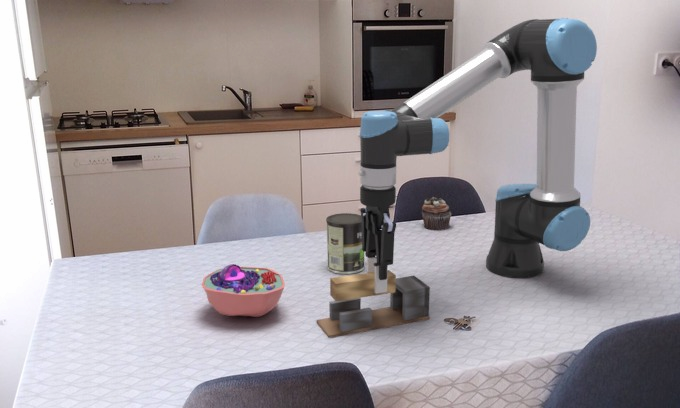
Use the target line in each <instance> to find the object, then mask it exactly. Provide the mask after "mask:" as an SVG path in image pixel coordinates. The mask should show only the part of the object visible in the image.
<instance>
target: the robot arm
mask: <svg viewBox="0 0 680 408" xmlns="http://www.w3.org/2000/svg"><path fill="white" fill-rule="evenodd" d="M597 47H598V46H597V40H596V35H595V34H594V31H593V30H592V29H591V28H590V27H589V25H588V24H587V23H586V22H585V21H582V20H580V19H575V18H568V17H567V18H566V17H565V18H564V17H561V18H547V19H546V18H545V19H543V18H542V19H538V18H537V19H534V18H533V19H527V20H525V21H522V22H519V23H517V24H516V25H514V26H511V27H510V28H508V29H506V30H505V31H503V32H502V33H500V34H498V35H497V36H495V37H494V38H492V39H490V40H489V41H488V42H486V43H484V44H483V46H482V48H481V51H480V52H478V53H476V54H475V55H474V56H472V57H471V58H469V59H468V60H466V61H465V62H463V63H462V64H460V65H459V66H457V67H455V68H454V69H452V70H451V71H449V72H448V73H446V74H444V76H442V77H439V79H437V80H436V81H434V82H433V83H431V84H430V85H428V86H427V87H425V88H423V89H422V90H420V91H419V92H417V93H416V94H414V95H413V96H412V97H410V98H408V99H406V100H405V101H404V102H402V103H400V104H399V105H396V107H394V108H392V109H386V110H385V109H383V110H371V111H366V112H364V113H363V114H362V115H361V117H360V118H361V119H360V127H359V128H360V129H359V131H360V132H359V137H360V138H359V139H360V140H359V141H360V171H359V172H358V176H360V184H361V186H360V187H359V191H360V192H359V201H360V202H359V203H361V205H363V206H365V207H362V208H360V215H361V218H362V250H363V252H364V255H365V258H366V273H372V272H375V286H374V293H376V294H377V293H383V292H387V270H388V266H391V265H392V266H393V264H394V253H395V251H394V250H395V249H394V248H395V234H396V233H395V232H396V228H397V222H396V221H392V220H391V213H390V207H391V206H394V205H395V203H396V201H397V200H396V197H397V196H396V195H397V194H396V193H397V192H396V191H397V189H396V187H395V185H396V184H397V158H398V157H404V156H414V155H415V156H418V155H428V154H429V155H433V154H437V153H443V152H444V151H445V150H446V149H447V148H448V146H449V142H450V130H449V126H448V124H447V122H446V121H445V120H444V119H443V118H441V117H442V116H443V115H444V114H446V113H447V112H449V111H450V110H452V109H453V108H455V107H457V106H458V105H460V104H461V103H463V102H464V101H465V100H467V99H469V98H470V97H472V96H473V95H474V94H476V93H479V91H481V90H482V89H483V88H485V87H487V86H488V85H490V84H492V83H493V82H494V81H496V80H497V79H506V78H508V77H509V76H511V75H513V74H514V73H516V72H517V73H518V72H521V71H525V70H526V71H527V70H530V82H531V83H532V84H533V85H534V86H535V88H536V89H537V96H536V97H537V105H536V106H537V109H536V110H537V111H536V114H537V117H536V118H537V119H536V120H537V121H536V128H537V129H536V183H511V184H505V185H502V186H500V187H499V188H497V191H496V197H495V209H494V210H495V213H494V215H495V216H494V231H493V232H494V234H493V235H494V236H493V241H492V243H491V246H490V248H489V251H488V254H487V255H486V259H485V267H486V268H487V270H488V271H490V272H491V273H493V274H496V275H499V276H503V277H508V278H515V279H517V278H518V279H519V278H521V279H524V278H525V279H526V278H533V277H534V278H535V277H537V276H540V275H542V274H543V273H544V271H545V261H544V257H543V253H542V249H541V245H543V246H545V247H546V248H548V249H552V250H555V251H558V252H569V251H571V250H573V249H575V248H577V247H578V246H579V245H581V243H582V242H583V240H585V239H586V237H587V236H588V233H589V230H590V226H591V215H590V214H589V212H588V211H587V210H586V209H585V208H584V207H582V206H581V193H580V192H579V190H578V189H576V188H575V165H576V164H575V163H576V158H575V157H576V132H577V131H576V130H577V129H576V128H577V96H578V95H577V93H578V91H577V90H578V86H579V85H580V84H581V83H582V82H583V81H584V80H585V72H587V70H589V69H590V68H591V67H592V65H593V64H592V63H593V62H594V61H595V60H596V56H597V50H598V48H597ZM439 117H440V118H439Z"/></svg>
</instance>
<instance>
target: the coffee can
mask: <svg viewBox="0 0 680 408" xmlns="http://www.w3.org/2000/svg"><path fill="white" fill-rule="evenodd" d="M325 219H326V220H325V221H326V244H327V245H326V247H327V248H326V249H327V251H326V253H327V266H326V267H327V270H328V271H329V272H331V273H333V274H334V273H335V274H338V275H355V274H359V273H360V272H362V271H364V269H365V252H363V250H362V218H361V214H357V213H350V212H347V213H343V212H342V213H335V214H331V215H329V216H327V217H326V218H325Z"/></svg>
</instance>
